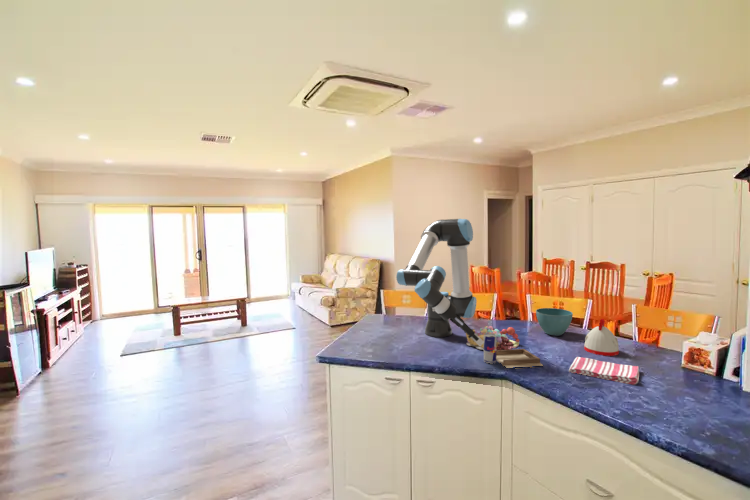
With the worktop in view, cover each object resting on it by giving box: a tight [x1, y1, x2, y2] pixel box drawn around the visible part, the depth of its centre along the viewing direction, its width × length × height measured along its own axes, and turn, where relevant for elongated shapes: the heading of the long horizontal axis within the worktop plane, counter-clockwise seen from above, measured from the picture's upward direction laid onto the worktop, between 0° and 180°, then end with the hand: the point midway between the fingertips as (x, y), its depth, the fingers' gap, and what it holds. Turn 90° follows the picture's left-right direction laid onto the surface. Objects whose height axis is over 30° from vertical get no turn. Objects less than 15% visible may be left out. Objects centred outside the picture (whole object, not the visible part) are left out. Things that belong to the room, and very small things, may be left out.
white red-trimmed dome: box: [584, 318, 620, 357], centre depth 174 cm, size 14×14×15 cm
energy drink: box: [483, 334, 497, 365], centre depth 163 cm, size 5×5×12 cm
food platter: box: [465, 325, 520, 351], centre depth 187 cm, size 25×24×9 cm
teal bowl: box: [535, 307, 574, 336], centre depth 203 cm, size 18×18×12 cm
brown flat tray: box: [496, 348, 544, 369], centre depth 164 cm, size 18×16×3 cm
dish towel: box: [568, 356, 640, 386], centre depth 149 cm, size 17×23×4 cm
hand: (481, 343), depth 162 cm, fingers closed
